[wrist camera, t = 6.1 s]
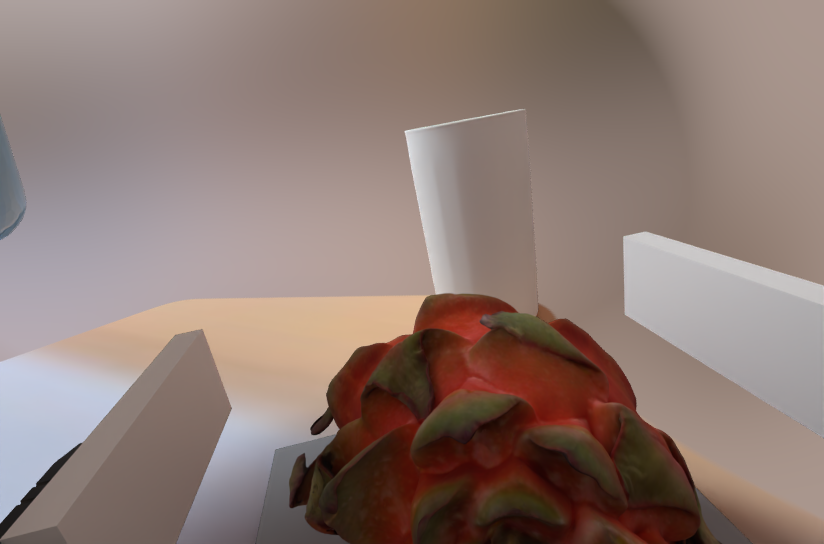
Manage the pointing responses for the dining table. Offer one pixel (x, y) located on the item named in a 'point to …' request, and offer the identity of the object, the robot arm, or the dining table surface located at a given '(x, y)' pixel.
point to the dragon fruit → (493, 440)
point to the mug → (478, 206)
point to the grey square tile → (296, 540)
